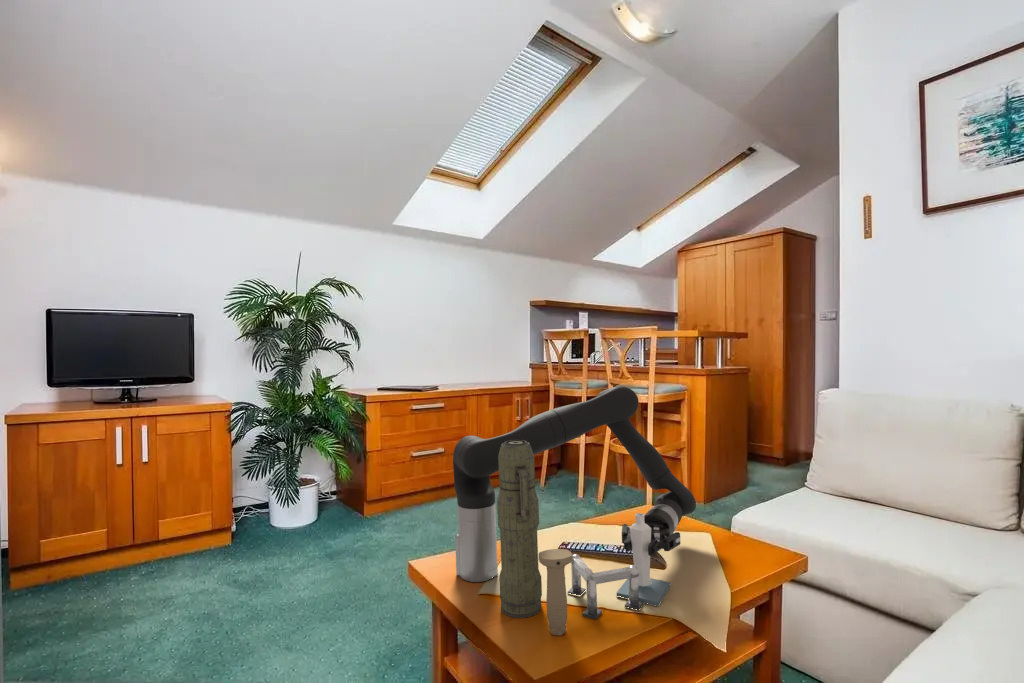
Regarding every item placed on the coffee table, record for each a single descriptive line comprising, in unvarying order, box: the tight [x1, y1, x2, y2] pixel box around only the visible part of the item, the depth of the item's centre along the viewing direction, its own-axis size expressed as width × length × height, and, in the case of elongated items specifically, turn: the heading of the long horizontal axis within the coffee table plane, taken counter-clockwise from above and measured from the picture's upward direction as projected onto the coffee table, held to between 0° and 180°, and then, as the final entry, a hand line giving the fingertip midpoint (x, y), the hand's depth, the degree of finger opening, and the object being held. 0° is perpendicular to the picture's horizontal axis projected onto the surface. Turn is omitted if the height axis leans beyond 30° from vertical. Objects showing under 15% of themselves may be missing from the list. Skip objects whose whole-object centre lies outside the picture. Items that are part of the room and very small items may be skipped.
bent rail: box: [567, 553, 644, 621], centre depth 109 cm, size 16×10×8 cm, turn 59°
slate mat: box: [616, 577, 671, 607], centre depth 115 cm, size 9×10×1 cm
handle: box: [538, 548, 573, 637], centre depth 100 cm, size 5×6×15 cm
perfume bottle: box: [629, 512, 652, 586], centre depth 115 cm, size 5×4×15 cm
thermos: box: [496, 440, 543, 619], centre depth 110 cm, size 9×12×35 cm
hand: (638, 549), depth 112 cm, fingers closed on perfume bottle, 4 cm apart
